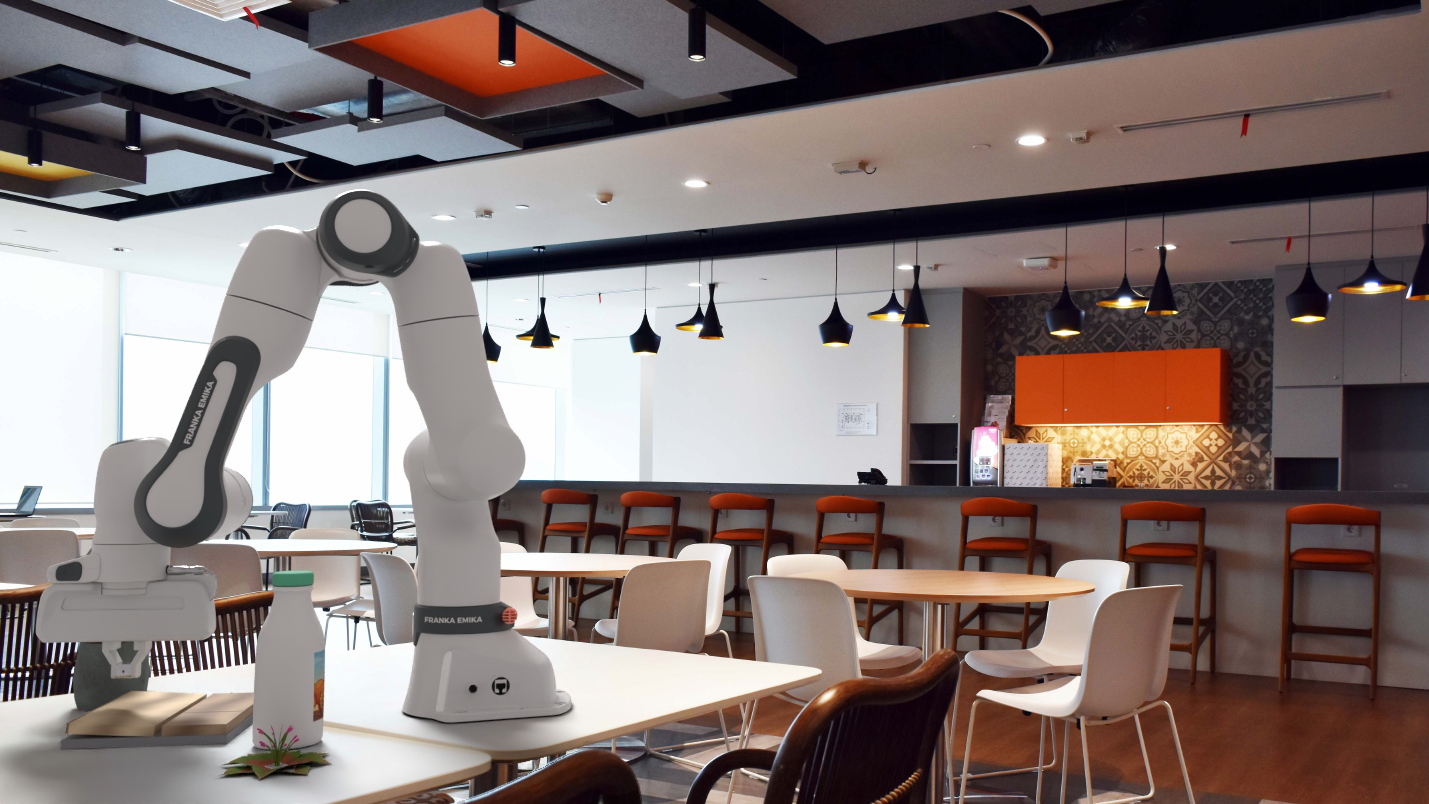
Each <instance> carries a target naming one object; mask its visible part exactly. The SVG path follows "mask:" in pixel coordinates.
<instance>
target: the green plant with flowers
mask: <svg viewBox="0 0 1429 804" xmlns="http://www.w3.org/2000/svg"><path fill="white" fill-rule="evenodd" d="M291 726H292V725H291ZM291 726H290V727H289V728H288V729H287V731H286V733H285V734H284V735H283V737H282V739H281V741H282V742H281V741H280V739H279V746H280V743H281V746H280V749H279V746H278V750H277V743H276V739H275V734H274V731H273V728H272V726H271V728H272V731H273V733H272V735H273V736H274V742H273V740H272V739H271V738H270V737H269V736H268V735H267V734H266V733H265V732H263V731H262V730H261V729H259V728H257V730H259V732H258V733H260V734H264V735H265V736H266V737H267V738H268V739H269V741H270V743H271V742H272V744H273V745H272V744H271V747H273V748H274V749H275V750H273V748H272V749H271V748H270V747H269V746H268V745H266V744H265V743H264V742H262V741H259V743H260V744H261V745H260V746H262V747H267V748H268V749H269V751H270V752H257V753H247V755H242V756H239V757H237V758H234V759H233V760H231V761H229V762H227V763H224V764H221V765H220V766H229V765H240V766H234V767H229V768H227V770H225V771H224V772H223V773H221V774H219V775H218V777H220V776H228V775H235V774H241V773H243V774H244V773H251V772H253V773H254V774H255V775H256V776H257V777H258V781H260V780H261V779H263V778H264V777H266V776H268V775H269V774H271V773H273V772H274V773H286V772H287V773H290V770H289V771H288V770H287V771H286V770H279V769H282V768H285V767H286V768H287V767H291V766H294V765H295V766H294V768H293V771H291V774H293V773H294V774H299V775H308V774H309V770H310V766H309V765H305V764H306V763H310V764H311V763H312V764H321V765H323V764H324V765H332V763H330V762H329V761H328V760H326V759H324V757H323V756H326V755H328V754H329V755H330V752H314V751H312V752H311V751H310V752H303V753H302V751H301V749H297V750H291V749H290V747H291V746H292V745H293V744H294V743H295V742H297V741H299V738H297V735H296V736H295V737H294V738H293V739H292V740H291V741H290V743H291V742H292V741H293V740H294V739H296V738H297V739H296V740H294V742H293V743H292V744H291V745H290V743H289V744H288V746H287V743H286V744H284V742H285V740H286V737H287V735H288V733H289V732H290V731H292V730H293V728H292V727H291ZM282 727H283V725H282ZM281 730H282V728H281ZM280 736H281V732H280ZM283 745H284V746H287V748H288V747H289V748H288V749H287V748H286V749H284V750H282V748H283V747H284V746H283ZM289 745H290V746H289ZM268 749H267V750H268ZM281 764H283V765H286V766H281ZM241 765H242V766H241ZM272 765H274V767H276V768H269V767H268V766H272ZM220 766H219V767H220Z"/></svg>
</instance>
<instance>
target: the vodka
mask: <svg viewBox="0 0 1429 804" xmlns="http://www.w3.org/2000/svg"><path fill="white" fill-rule="evenodd" d="M91 550H92V546H91V547H90V549H89V550H88V551H87V553H86V554H85V555H89V554H90V553H91ZM116 650H117V652H118V654H119V656H120V658H121V660H122V662H132V661H133V659H134V657H135V656H136V654H137V652H138V651H139V650H134V641H122V642H121V647H120V648H119V649H116ZM149 661H150V659H149V653H148V654H147V656H146V657H145V659H144V660H143V662H141V675H140V677H138V678H116V679H115V678H111V664H110V663H109V662H108V660H107V658H106V657H105V655H104V653H103V652H102V642H79V647H78V650H77V655H76V659H75V665H74V671H73V676H72V687H73V698H74V702H75V707H76V710H78V711H80V712H86V713H88V712H90V711H92V710H94V709H96V708H98V707H100V706H102V705H104V704H106V703H108V702H110V701H112V700H114V699H116V698H118V697H120V696H122V695H124V694H126V693H128V692H130V691H148V685H149V679H150V675H151V674H150V662H149Z"/></svg>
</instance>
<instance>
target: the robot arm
mask: <svg viewBox="0 0 1429 804" xmlns="http://www.w3.org/2000/svg"><path fill="white" fill-rule="evenodd" d="M318 221H319V222H318V225H317V227H314V228H312V229H309V230H303V229H302V230H301V229H298V228H295V227H291V226H285V225H272V226H267V227H264V228H261V229H260V230H258V231H257V232H256V233H255V234H254V235H253V236H252V238H251V240H250V241H249V243H248V244H247V247H246V248H245V250H244V252H243V254H242V255H241V258H240V260H239V262H238V263H237V265H236V268H235V270H234V272H233V275H232V277H231V280H230V282H229V283H228V284H229V285H228V287H227V291H226V293H225V296H224V300H223V302H222V304H221V309H220V311H219V315H218V319H217V320H216V321H217V322H216V324H215V328H214V332H213V336H212V339H211V341H210V343H209V344H210V345H209V346H208V347H209V348H208V350H207V352H206V356H205V359H204V361H203V365H202V367H201V369H200V371H199V374H198V375H197V378H196V380H195V382H194V385H193V387H192V390H191V393H190V395H189V396H188V400H187V402H186V405H185V406H184V409H183V412H182V415H181V418H180V420H179V423H178V425H177V427H176V430H175V432H174V435H173V437H172V440H171V441H170V440H169V439H167V438H165V437H164V438H163V437H159V436H158V437H155V436H152V437H151V436H149V437H137V438H131V439H125V440H120V441H117V442H115V443H112V444H110V445H108V446H107V447H106V448H105V449H104V450H103V452H102V453H101V456H100V457H99V460H98V461H99V462H98V467H97V471H96V477H95V484H94V496H93V513H94V515H95V516H94V517H95V521H96V523H95V525H96V527H95V530H94V534H93V536H92V539H91V547H92V550H91V553H90V554H89V555H86V554H85V555H79V556H77V557H75V558H73V559H70V560H65V561H63V562H59V563H55V564H53V565H50V566H49V567H48V568H47V570H46V580H47V582H49V583H51V584H50V585H48V586H47V587H45V588H44V589H43V591H42V594H41V596H40V599H39V604H38V608H37V614H36V621H35V622H36V623H35V634H36V636H37V638H38V639H39V640H40V642H41V643H44V644H49V643H50V644H51V643H57V644H58V643H80V642H102V652H103V653H104V655H105V657H106V658H107V660H108V662H109V663H110V664H111V678H115V679H116V678H138V677H140V675H141V662H143V660H144V659H145V657H146V656H147V654H148V655H149V652H150V651H151V650H152V648H153V642H166V641H167V642H169V641H170V642H171V641H175V642H177V641H185V642H186V641H203V640H206V639H209V638H210V637H211V636H212V635H213V634H214V633H215V631H216V628H217V616H216V613H217V612H216V604H215V597H216V595H217V592H218V578H217V575H216V573H215V572H213V571H212V570H210V569H208V568H207V567H206V566H204V565H193V566H187V565H171V551H172V548H173V549H185V548H190V547H193V546H197V545H199V544H200V543H203V542H207V541H211V540H215V539H218V538H222V537H225V536H228V535H229V534H232V533H233V532H235V531H237V530H239V528H241V527H243V525H245V523H246V521H247V520H248V518H249V517H250V515H251V513H252V510H253V504H254V495H253V491H252V487H251V486H250V484H249V482H248V481H247V479H246V478H245V477H244V475H242V474H241V473H239V472H238V471H236V470H234V469H232V468H231V467H230V468H229V467H228V466H226V461H227V458H228V456H229V454H230V451H231V448H232V445H233V442H234V441H235V437H236V434H237V433H238V430H239V427H240V424H241V422H242V420H243V417H244V414H245V412H246V410H247V407H248V405H249V403H250V402H251V401H252V399H253V398H254V396H255V395H256V394H257V393H258V392H259V391H260V390H261V389H262V388H263V387H264V386H266V385H267V384H268V383H270V382H271V381H273V380H275V379H276V378H278V377H280V376H282V375H284V374H285V373H287V372H289V371H290V370H291V369H292V368H293V367H294V366H295V364H296V362H297V360H298V359H299V357H300V355H301V354H302V351H303V349H304V347H305V345H306V343H307V340H308V338H309V335H310V332H311V330H312V327H313V324H314V323H313V322H314V320H315V316H316V315H317V314H316V313H317V310H318V308H319V304H320V301H321V298H322V297H323V294H324V293H325V291H326V289H328V287H329V286H331V287H332V286H333V287H343V286H344V287H357V288H358V287H369V286H373V285H376V284H379V283H380V284H381V285H383V286H384V287H385V289H387V292H388V293H389V295H390V297H391V299H392V303H393V306H394V311H395V317H396V325H397V331H398V337H399V343H400V349H401V356H402V363H403V367H404V368H403V369H404V374H405V378H406V379H405V380H406V383H407V386H408V388H409V390H410V391H411V393H413V396H414V398H415V400H416V402H417V404H418V406H419V410H420V412H421V414H422V417H423V420H424V422H425V425H426V428H425V429H424V430H422V431H421V432H420V433H419V434H417V435H416V436H415V437H414V438H413V439H412V440H411V441H410V443H409V444H408V445H407V447H406V449H405V452H404V455H403V462H402V464H403V466H402V467H403V471H404V474H405V477H406V479H407V481H408V484H409V489H410V490H409V491H410V498H411V506H412V512H413V518H414V525H415V531H416V536H417V538H416V539H417V540H416V541H417V598H416V599H417V600H416V601H417V602H416V604H414V605H413V612H412V621H411V623H412V628H411V630H412V632H411V639H412V644H413V646H414V648H413V649H414V652H413V657H412V659H413V660H412V665H411V672H410V676H409V677H410V678H409V684H408V687H407V692H406V695H405V698H404V702H403V705H402V708H401V710H402V712H403V713H405V714H407V715H410V716H414V717H419V718H425V719H433V720H436V721H439V722H443V723H460V722H461V723H462V722H463V723H464V722H475V721H489V720H503V719H516V718H517V719H518V718H530V717H531V718H532V717H545V716H555V715H556V716H557V715H560V714H563V713H566V712H568V711H569V710H570V709H571V708H572V696H571V695H570V693H569V692H567V691H565V690H562V689H558V688H557V683H556V675H555V671H554V666H553V664H552V661H551V660H550V658H549V656H548V655H547V654H546V653H544V651H542V650H541V649H540V648H539V647H537V646H536V645H535V644H533V643H532V642H531V641H529V640H528V639H527V638H526V637H525V636H523V635H522V634H520V633H519V632H518V631H517V630H515V629H514V628H515V624H516V623H515V622H516V621H517V620H518V619H517V618H518V611H517V610H516V609H515V608H514V607H513V606H511V605H509V604H507V603H505V602H504V601H502V600H501V573H502V572H501V569H502V565H501V563H502V561H501V559H502V557H501V556H502V547H501V546H502V545H501V543H500V540H499V537H498V535H497V533H496V531H495V528H494V525H493V520H492V516H491V511H490V506H489V500H493V499H495V498H497V497H499V496H501V495H504V494H505V493H506V492H508V491H510V490H511V489H512V488H514V487H515V486H516V484H518V483H519V481H520V480H521V478H522V476H523V473H524V470H525V467H526V452H525V447H524V443H523V442H522V440H521V439H520V437H519V435H517V434H516V433H515V432H514V431H515V430H513V429H512V427H511V426H510V424H509V421H508V419H507V417H506V414H505V412H504V409H503V407H502V403H501V402H500V399H499V397H498V393H497V391H496V388H495V386H494V383H493V380H492V376H491V373H490V369H489V363H488V360H487V353H486V348H485V343H484V337H483V332H482V331H483V329H482V325H481V319H480V313H479V308H478V302H477V298H476V295H475V291H474V286H473V284H472V283H473V282H472V280H471V277H470V274H469V271H468V268H467V265H466V262H465V260H464V257H463V255H462V254H461V252H459V250H458V249H457V248H455V247H454V246H452V245H450V244H448V243H446V242H445V243H444V242H440V241H432V240H431V241H420V235H419V233H418V232H417V231H416V230H415V228H414V227H413V226H412V225H411V223H410V222H409V221H408V220H407V218H406V217H405V216H404V215H403V213H402V212H401V211H400V209H399V208H398V207H397V206H396V205H395V204H394V203H393V202H392V201H391V200H390V199H388V198H387V197H385V196H384V195H383V194H380V193H378V192H376V191H374V190H369V189H362V188H361V189H360V188H359V189H353V190H348V191H344V192H342V193H340V194H338V195H336V196H335V197H334V198H333V199H331V200H330V201H329V202H328V203H327V205H325V208H324V209H323V210H322V212H321V215H320V218H319V220H318ZM206 573H207V574H206ZM122 641H134V650H139V651H138V652H137V654H136V656H135V657H134V659H133V661H132V662H122V660H121V658H120V656H119V654H118V652H117V650H116V649H119V648H120V647H121V642H122Z"/></svg>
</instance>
